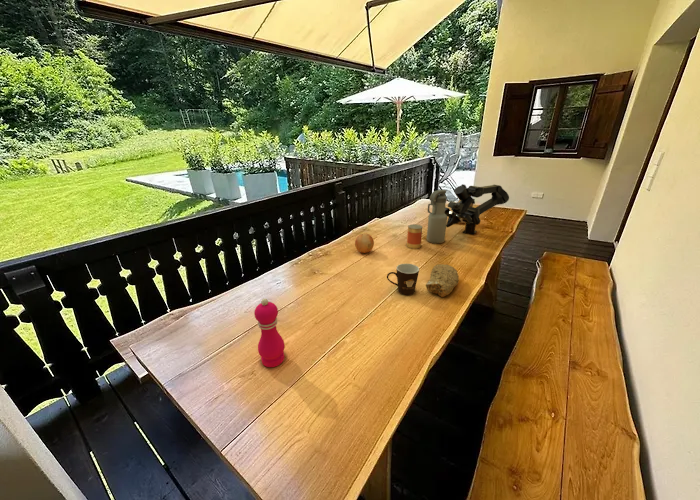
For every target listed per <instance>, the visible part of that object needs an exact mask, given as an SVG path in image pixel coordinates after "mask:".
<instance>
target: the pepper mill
mask: <svg viewBox="0 0 700 500" xmlns="http://www.w3.org/2000/svg"><path fill="white" fill-rule="evenodd" d="M253 314H254V317H255V320H256V322H257V326H258V328H259V329H260V333H261V335H260V338H259V341H258V344H257V352H258V355H259V356H260V358H261V364H262V365H263V366H265V367H266V368H274V367H278V366H280V365H281V364H282V363H283V362H284V360H285V348H286V346H285V345H286V344H285V340H284V339H283V337H282V335H281V334H280V333H279V331H278V329H277V325H278V318H277V317H278V314H279V309H278V307H277V305H276V304H275V303H273V302H271V301H269V300H268V298H266V297H265V298H262V299H261V301H260V303H259V304H258V305H256V307H255V309H254V312H253Z"/></svg>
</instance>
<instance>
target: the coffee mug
mask: <svg viewBox="0 0 700 500" xmlns="http://www.w3.org/2000/svg"><path fill="white" fill-rule="evenodd" d="M395 269H396V272H395V271H390V272H388V273H387V275H386V279H387V281H388V282H389V283H391V284H393V285H395V286H396V287H397V291H398V293H399V294H400V295H403V296H412V295H414V294H415V292H416V287H417V282H418V279H419V273H420V267H419V266H418V265H416V264H413V263H400V264H397V266H396V268H395ZM391 275H395V277H396V281H397V283H396V282H394V281H393V280H391V279H389V276H391Z"/></svg>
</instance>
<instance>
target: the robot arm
mask: <svg viewBox="0 0 700 500" xmlns="http://www.w3.org/2000/svg"><path fill="white" fill-rule="evenodd" d="M453 192H454V195H455V196H456V197H457V199H458V201H459V200H461V201H460V202H458V201H457V202H454V201H449V202H448V204H447V207H446V206H445V214H446V215H447V224H446V228H450V227H452V226H453V225H456V224H459V223H458V222H461V220H463V221H464V222H466V223H465V225H464V230H463V231H462V234H466V235H473V236H475V234H477V230H476V227H477V225H478V226H479V225H480V224H481V219H480V217H481V216H480V215H482V214H484V213H486V212H487V211H489V210H491V209H492V208H494V207H495V206H497V205H498V206H499V205H504V204H506V203H507V202H509V200H510V196H509V194H508V192H507V191H506V190H505V189H504V188H503V187H502V186H501V184H492V185H483V186H477V185H469V186H468V187H467V186H466V184H464V183H463V184H461V185H459V186H457V187H455V188H454V190H453ZM486 194H487V195H488V194H490V195H491V198H490V199H487V200H486V201H484V202H483V203H481V204H479V205H477V206H476V207H474V206H473V207H469V206H470V205H471V203H472V204H473V205H475V204H476V201H475V199H476V198H478V199H479V198H480V197H482V196H483V195H486ZM468 207H469V208H468Z"/></svg>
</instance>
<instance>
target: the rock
mask: <svg viewBox="0 0 700 500" xmlns="http://www.w3.org/2000/svg"><path fill="white" fill-rule="evenodd" d="M459 277H460V276H459V274H458V270H457V269H456V268H455V267H454V266H452V265H449V264H443V263H440V264H435V265H434V266H433V267H432V268H431V272H430V278H429V280H427V282H426V283H425V287H426V289H427V290H428V291H429V292H431V293H433V294H435V295H438V296H439V297H441V298H444V297H446V296H448V295H450V294H451V293H452V292H453V290H454V288H455V287H457V286H458V285H459V282H460V279H459Z"/></svg>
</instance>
